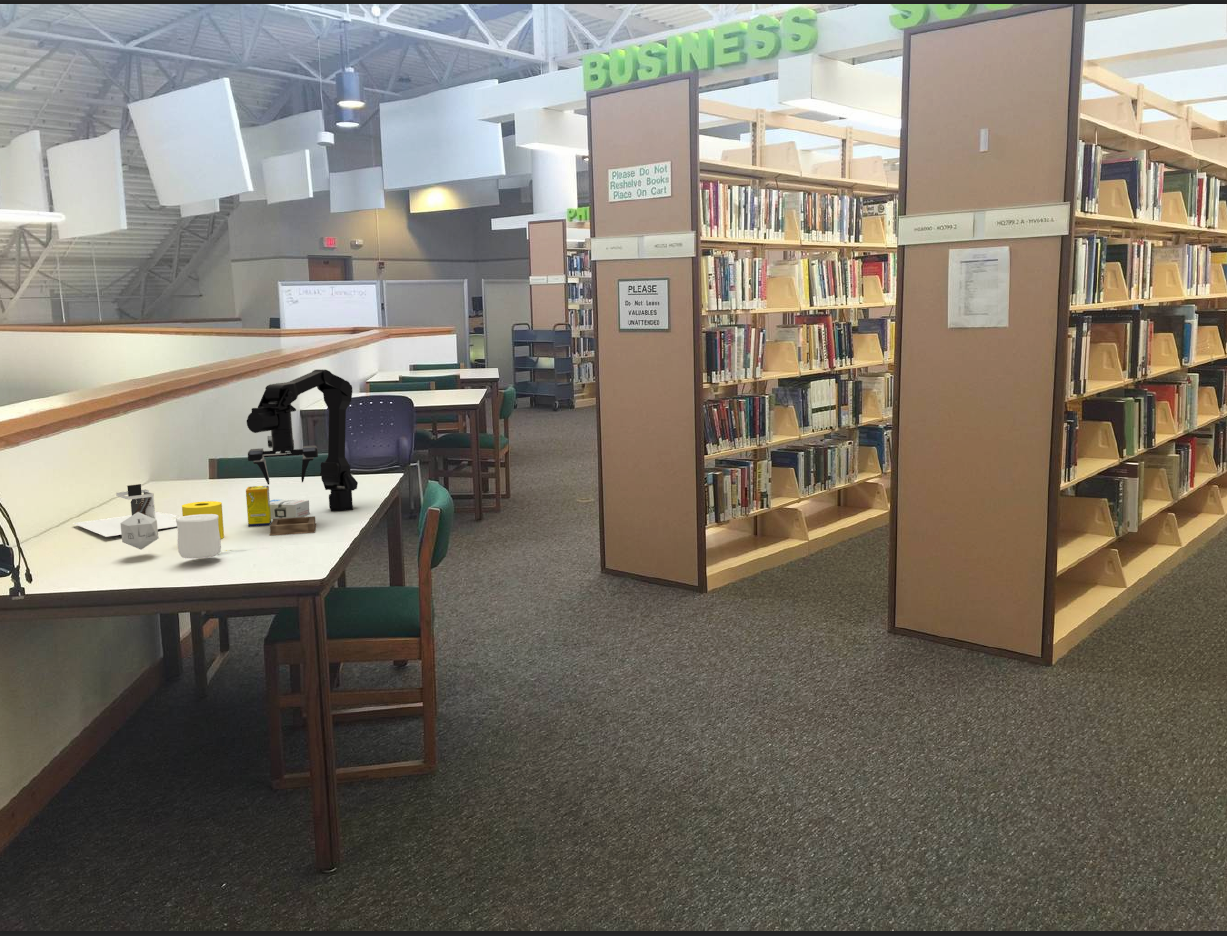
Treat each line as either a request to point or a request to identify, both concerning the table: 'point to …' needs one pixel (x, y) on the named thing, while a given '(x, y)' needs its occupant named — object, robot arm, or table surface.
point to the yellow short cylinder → (205, 511)
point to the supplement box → (258, 506)
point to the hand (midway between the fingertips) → (285, 483)
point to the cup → (198, 536)
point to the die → (139, 530)
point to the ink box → (289, 508)
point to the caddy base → (293, 525)
